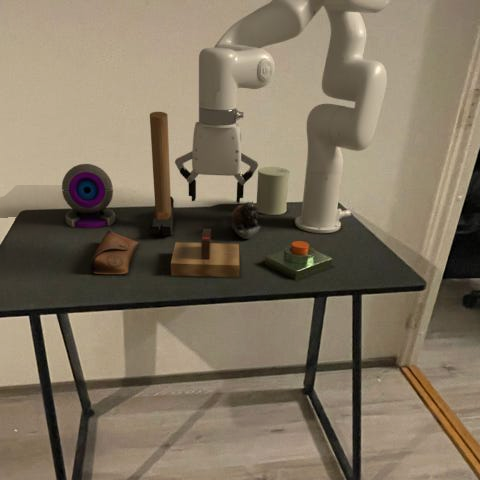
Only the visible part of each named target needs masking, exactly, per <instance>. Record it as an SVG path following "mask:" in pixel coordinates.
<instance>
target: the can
mask: <svg viewBox="0 0 480 480" xmlns="http://www.w3.org/2000/svg"><path fill="white" fill-rule="evenodd" d="M289 180H290V170H288V169H287V168H284V167H280V166H279V167H277V166H264V167H259V168H257V187H256V189H257V190H256V203H255V205H256V207H258V209H257V210H258V214H259V213H260V214H263V215H267V216H278V215H283V214H286V213H287V211H288V210H287V205H288V203H287V202H288V190H289Z"/></svg>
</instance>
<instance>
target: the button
mask: <svg viewBox="0 0 480 480" xmlns="http://www.w3.org/2000/svg"><path fill="white" fill-rule="evenodd" d="M291 245H292V246H291V252H293V253H296V254H307V253H308V251H309V247H310V244H309V243H308V242H306V241H302V240H296V241H292V242H291Z"/></svg>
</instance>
